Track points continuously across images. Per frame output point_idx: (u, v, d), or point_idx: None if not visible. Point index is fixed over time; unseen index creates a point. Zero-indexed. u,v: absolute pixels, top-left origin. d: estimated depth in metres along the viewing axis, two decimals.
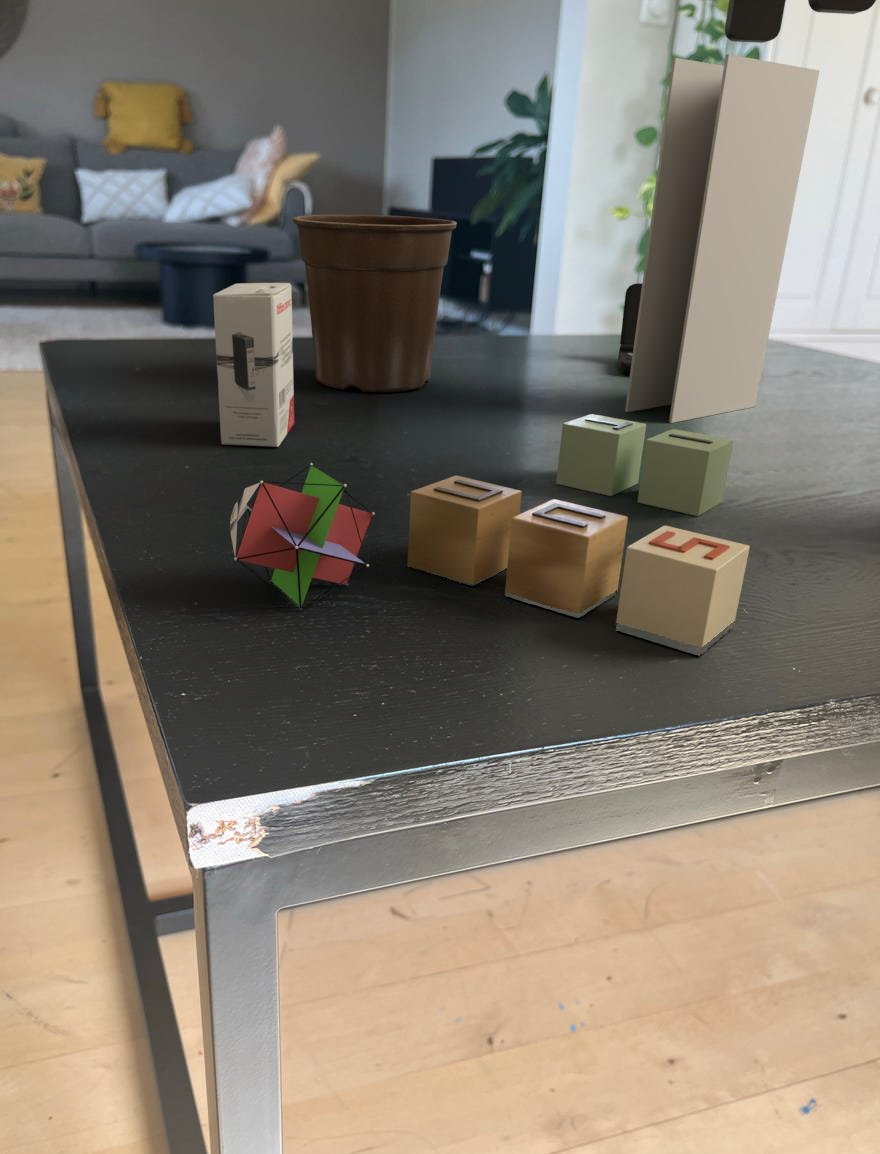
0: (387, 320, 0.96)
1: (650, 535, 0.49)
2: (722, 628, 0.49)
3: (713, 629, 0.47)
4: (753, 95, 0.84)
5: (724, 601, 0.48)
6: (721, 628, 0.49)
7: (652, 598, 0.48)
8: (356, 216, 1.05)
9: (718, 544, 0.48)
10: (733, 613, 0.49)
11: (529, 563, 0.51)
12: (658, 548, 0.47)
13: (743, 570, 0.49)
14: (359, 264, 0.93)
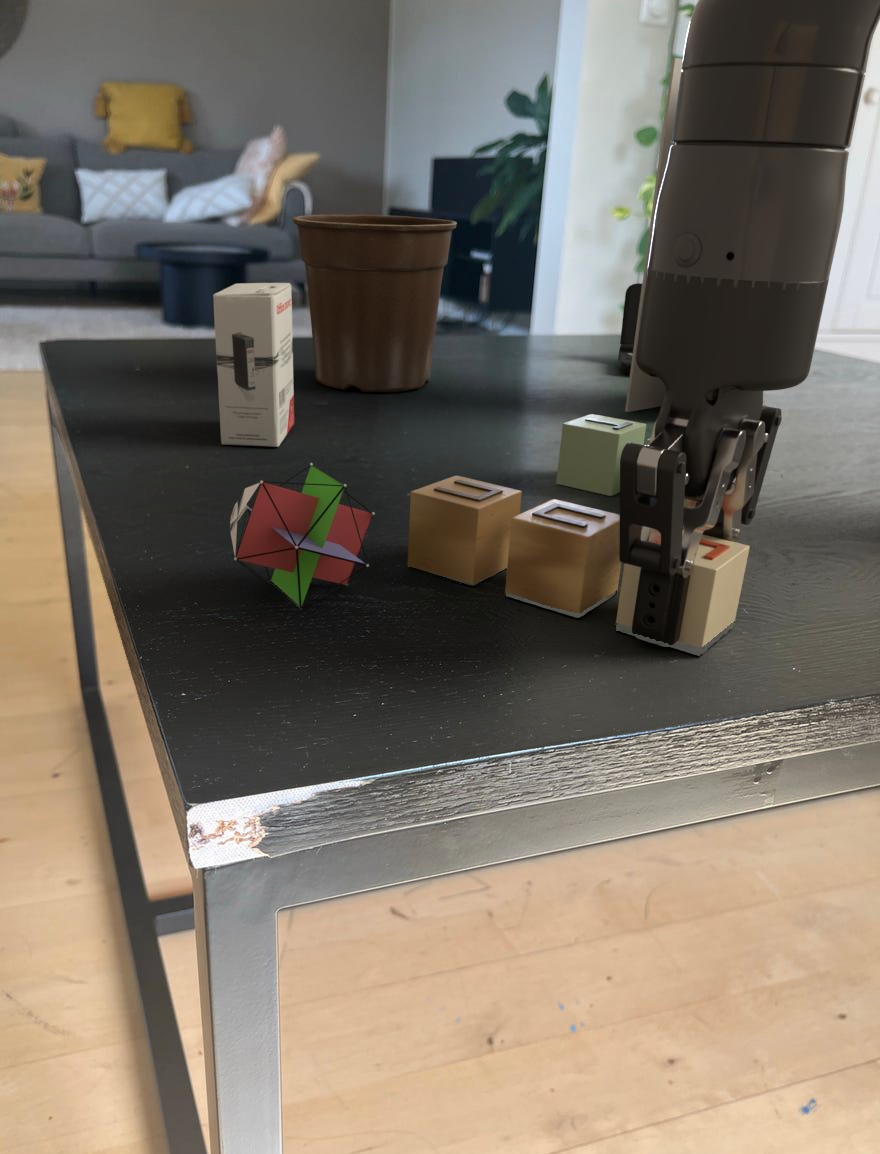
0: (387, 320, 0.96)
1: None
2: (722, 628, 0.49)
3: (713, 629, 0.47)
4: None
5: (724, 601, 0.48)
6: (721, 628, 0.49)
7: None
8: (356, 216, 1.05)
9: (718, 544, 0.48)
10: (733, 613, 0.49)
11: (529, 563, 0.51)
12: None
13: (742, 571, 0.49)
14: (359, 264, 0.93)
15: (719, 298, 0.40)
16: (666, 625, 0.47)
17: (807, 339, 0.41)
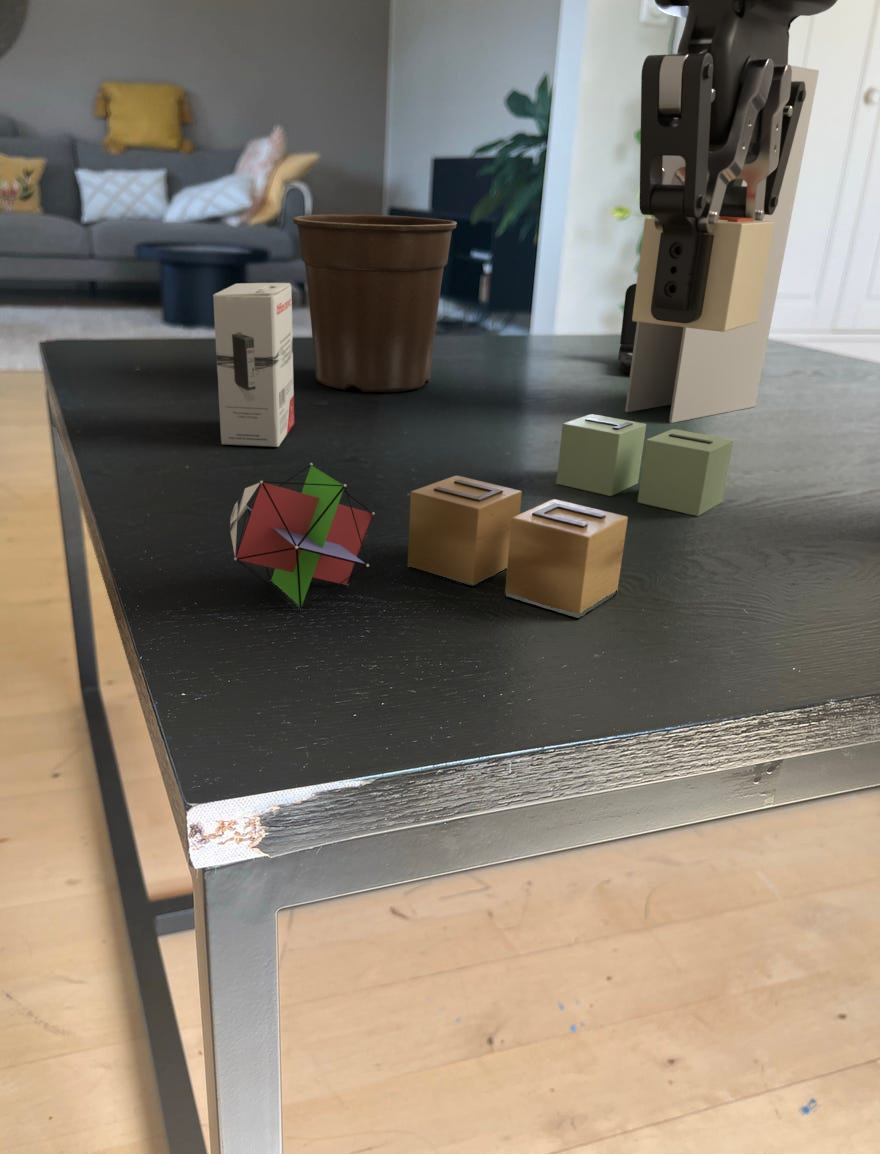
0: (387, 320, 0.96)
1: None
2: (746, 312, 0.46)
3: (737, 305, 0.45)
4: None
5: (749, 275, 0.45)
6: (745, 311, 0.46)
7: None
8: (356, 216, 1.05)
9: None
10: (757, 301, 0.47)
11: (529, 563, 0.51)
12: None
13: (767, 250, 0.46)
14: (359, 264, 0.93)
15: None
16: (688, 293, 0.44)
17: None
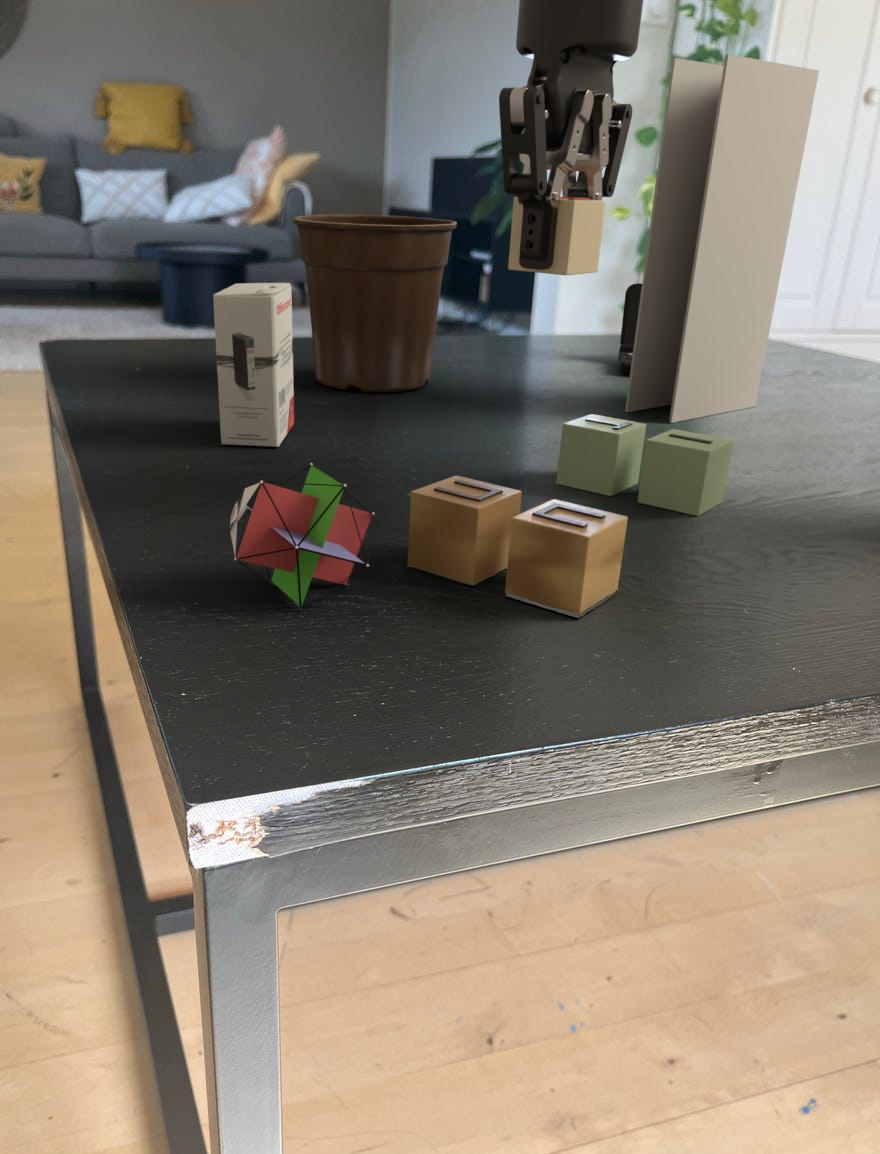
0: (387, 320, 0.96)
1: None
2: (586, 263, 0.66)
3: (577, 257, 0.65)
4: (753, 95, 0.84)
5: (585, 236, 0.65)
6: (585, 262, 0.66)
7: None
8: (356, 216, 1.05)
9: None
10: (595, 256, 0.67)
11: (529, 563, 0.51)
12: None
13: (601, 220, 0.66)
14: (359, 264, 0.93)
15: None
16: (541, 248, 0.64)
17: (629, 13, 0.58)
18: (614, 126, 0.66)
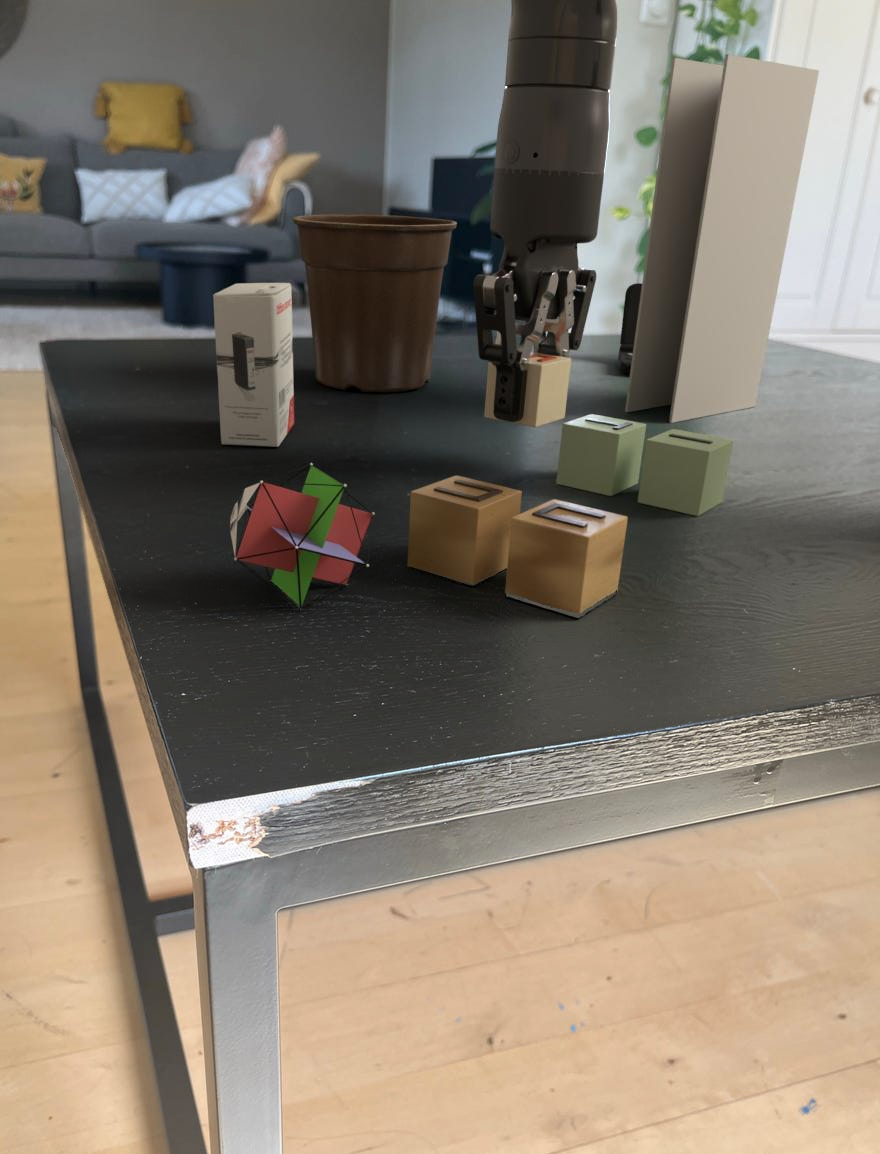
0: (387, 320, 0.96)
1: None
2: (553, 413, 0.74)
3: (545, 410, 0.73)
4: (753, 95, 0.84)
5: (552, 392, 0.73)
6: (552, 413, 0.74)
7: None
8: (356, 216, 1.05)
9: (549, 356, 0.73)
10: (562, 406, 0.75)
11: (529, 563, 0.51)
12: None
13: (567, 375, 0.74)
14: (359, 264, 0.93)
15: (530, 182, 0.65)
16: (513, 405, 0.72)
17: (588, 210, 0.66)
18: (579, 290, 0.74)
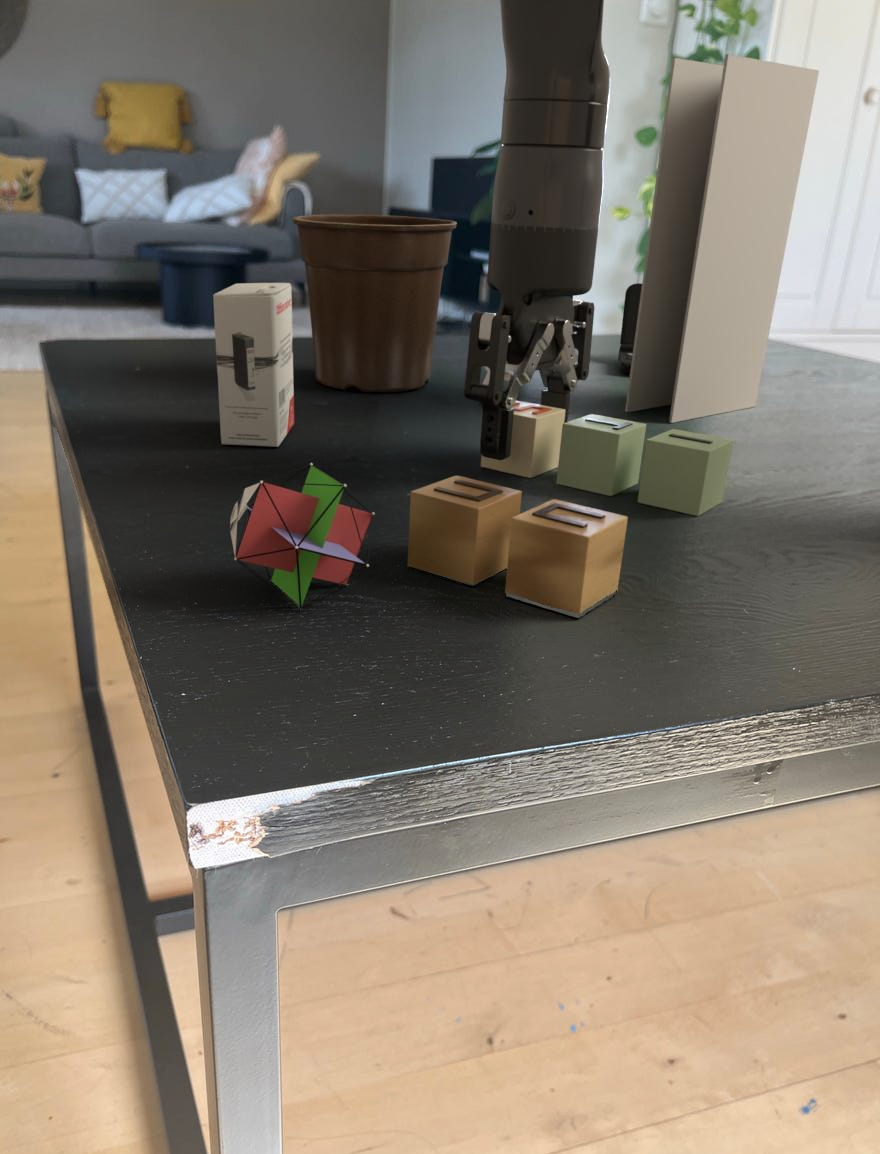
0: (387, 320, 0.96)
1: None
2: (548, 463, 0.76)
3: (540, 461, 0.74)
4: (753, 95, 0.84)
5: (547, 443, 0.74)
6: (547, 463, 0.75)
7: None
8: (356, 216, 1.05)
9: (544, 408, 0.75)
10: (557, 455, 0.76)
11: (529, 563, 0.51)
12: None
13: (561, 426, 0.76)
14: (359, 264, 0.93)
15: (526, 238, 0.67)
16: (499, 443, 0.72)
17: (583, 264, 0.68)
18: (579, 327, 0.76)
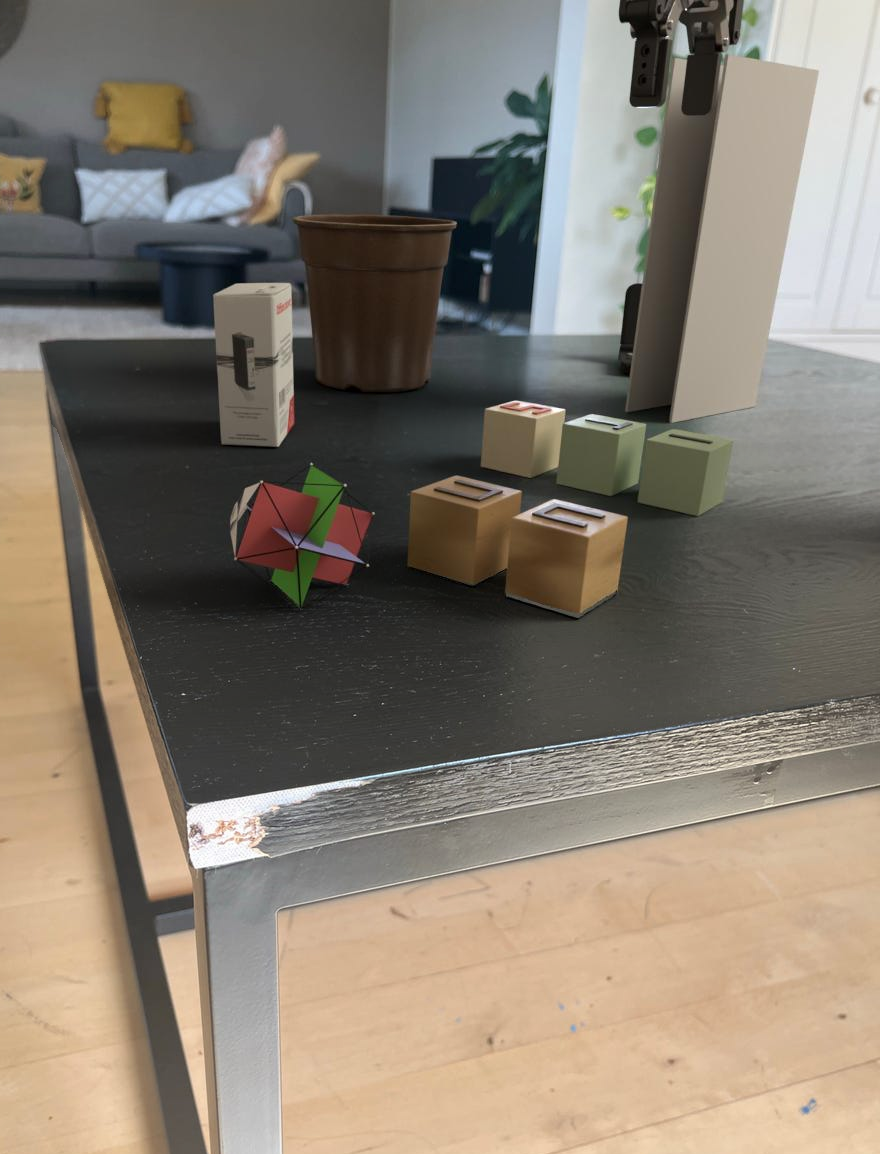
0: (387, 320, 0.96)
1: (503, 404, 0.76)
2: (548, 463, 0.76)
3: (540, 461, 0.74)
4: (753, 95, 0.84)
5: (547, 443, 0.74)
6: (547, 463, 0.75)
7: (501, 441, 0.74)
8: (356, 216, 1.05)
9: (544, 408, 0.75)
10: (557, 455, 0.76)
11: (529, 562, 0.51)
12: (505, 409, 0.74)
13: (561, 426, 0.76)
14: (359, 264, 0.93)
15: None
16: (655, 82, 0.62)
17: None
18: None
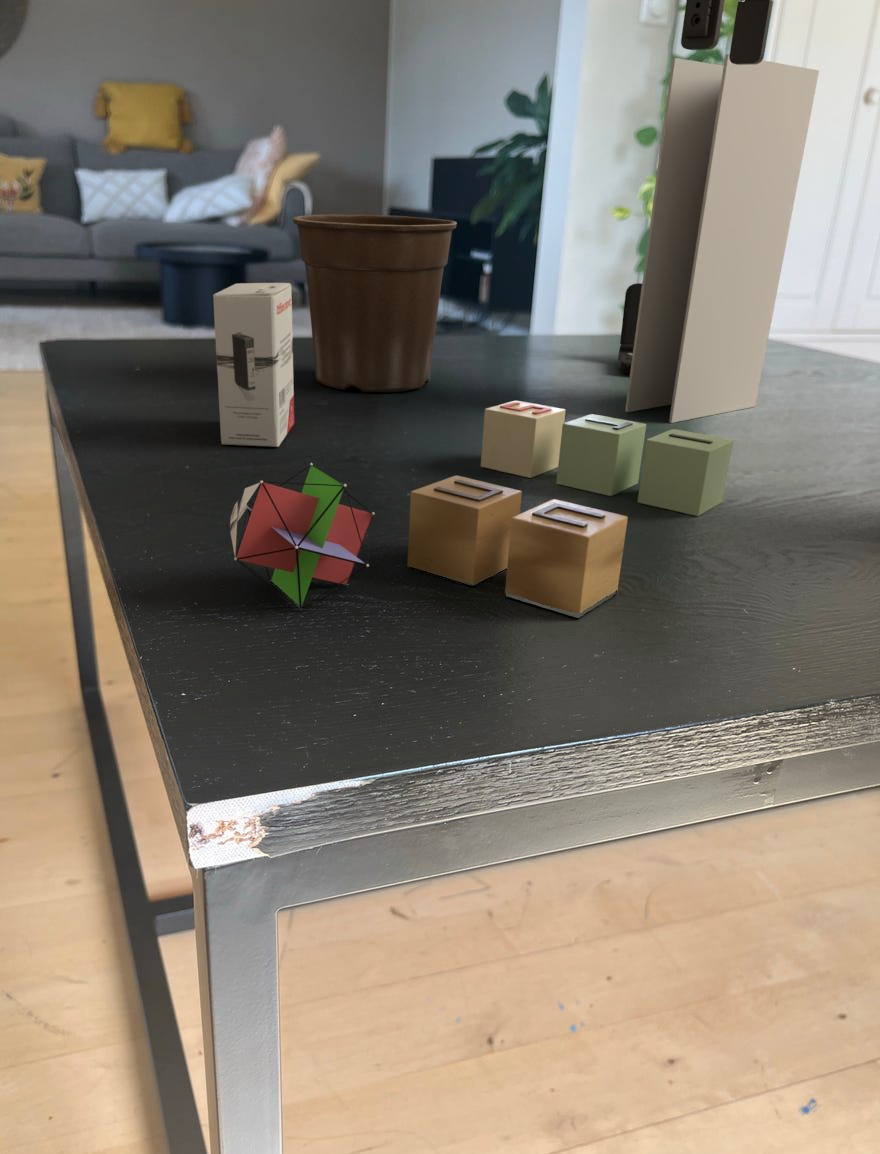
0: (387, 320, 0.96)
1: (503, 404, 0.76)
2: (548, 463, 0.76)
3: (540, 461, 0.74)
4: (753, 95, 0.84)
5: (547, 443, 0.74)
6: (547, 463, 0.75)
7: (501, 441, 0.74)
8: (356, 216, 1.05)
9: (544, 408, 0.75)
10: (557, 455, 0.76)
11: (529, 562, 0.51)
12: (505, 409, 0.74)
13: (561, 426, 0.76)
14: (359, 264, 0.93)
15: None
16: (708, 23, 0.61)
17: None
18: None
